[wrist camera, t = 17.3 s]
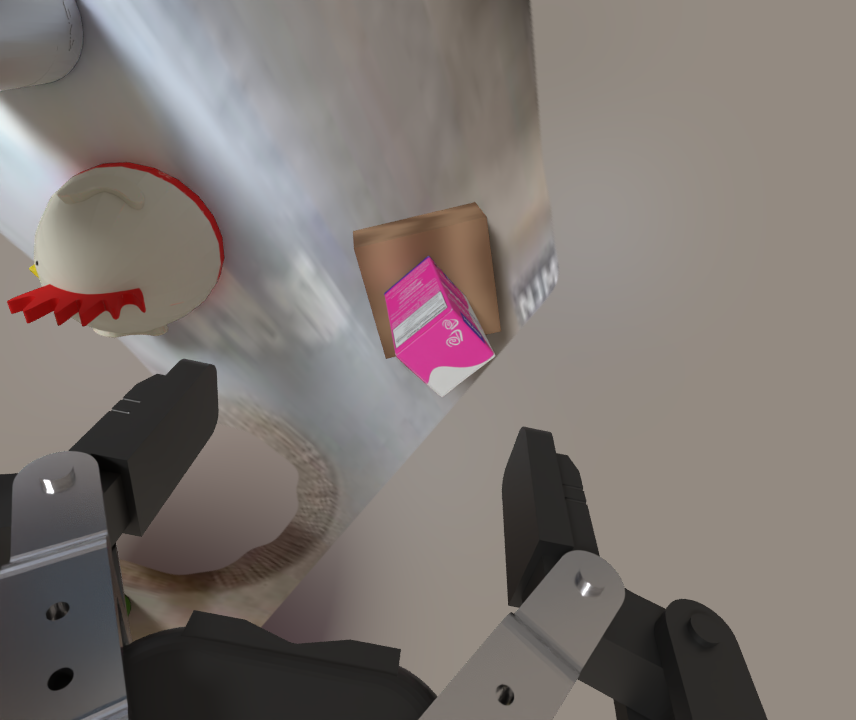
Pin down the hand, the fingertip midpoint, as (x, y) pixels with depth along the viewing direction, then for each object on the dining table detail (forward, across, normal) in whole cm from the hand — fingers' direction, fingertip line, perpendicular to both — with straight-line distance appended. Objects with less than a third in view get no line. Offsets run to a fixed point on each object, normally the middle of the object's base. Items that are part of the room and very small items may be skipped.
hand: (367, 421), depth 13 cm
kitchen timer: (+32, -26, -12) cm, 43 cm away
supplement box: (+33, +1, -11) cm, 35 cm away
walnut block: (+38, 0, -11) cm, 40 cm away
